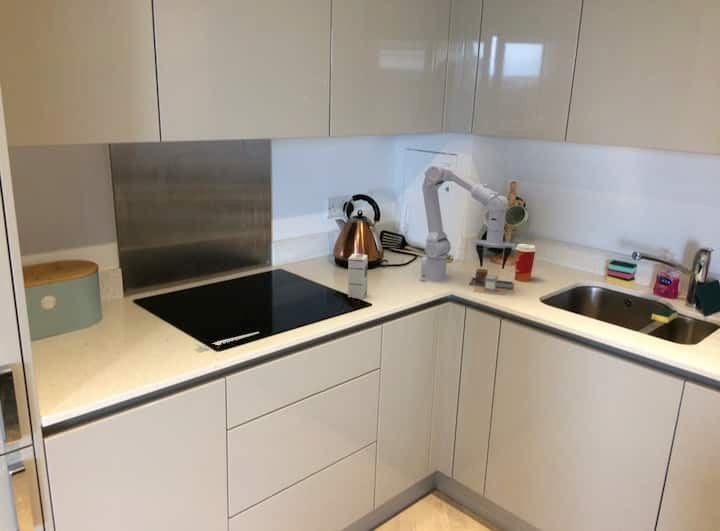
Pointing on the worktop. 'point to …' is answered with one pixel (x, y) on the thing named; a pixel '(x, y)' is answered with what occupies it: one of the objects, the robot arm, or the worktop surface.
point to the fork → (227, 340)
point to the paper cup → (524, 262)
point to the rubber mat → (498, 292)
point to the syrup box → (357, 275)
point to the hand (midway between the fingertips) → (492, 267)
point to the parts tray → (499, 284)
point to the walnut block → (481, 276)
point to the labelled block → (490, 283)
